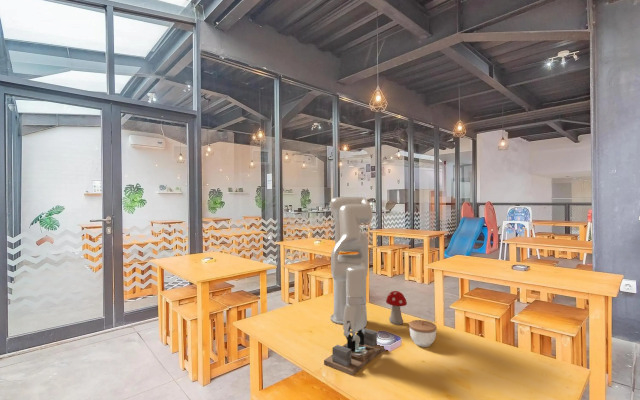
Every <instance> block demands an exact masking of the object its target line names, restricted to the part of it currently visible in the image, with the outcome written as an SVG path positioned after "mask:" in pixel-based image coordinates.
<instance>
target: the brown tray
mask: <svg viewBox="0 0 640 400" xmlns="http://www.w3.org/2000/svg"><path fill="white" fill-rule="evenodd" d="M363 335H364V345H360V344H359V347H366V348H365V349H364V350H363V351H361V352H362V353H363V355H361V356H357V355H354V354H351V353H352V352H351V349H349V348H347V342H345V344H343V345H339V344H336V345H334V346H333V347H332V352H331V353H332V354H331V355H329V356H328V357H327V358H325V359H324V360H323V364H324V366H327V367H330V368H332V369H335V370H337V371H340V372H343V373H345V374H348V375H350V376H354V375H355V374H356V373H358V372H359V371H360V370H361V369H362V368H363V367H365V366H366V365H367V364H368V363H370V362H371V361H373V360H374V359H375V358H376V357H377V356H379V354H381V353H382V352H384V350H385V349H384V346H380V345H377V343H378V338H377V337H378V331H376V330H371V329H368V328H365V334H363ZM355 354H356V353H355Z"/></svg>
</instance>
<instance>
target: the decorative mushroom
mask: <svg viewBox="0 0 640 400" xmlns="http://www.w3.org/2000/svg"><path fill="white" fill-rule="evenodd" d="M385 301H386V304H388V305H390V306H391V311H390V316H389V318H388V320H389V323H391V324H392V325H398V326H399V325H400V326H401V325H403V323H404V320H403V317H402V315H403V314H402V311H401V307H405V306H407V299H406V298H405V296H404V294H403V293H402V292H400V291H399V290H398V291H397V290H393V291H392V290H391V292H389V293H388V295H387V297H386V298H385Z"/></svg>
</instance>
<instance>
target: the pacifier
mask: <svg viewBox="0 0 640 400" xmlns="http://www.w3.org/2000/svg"><path fill="white" fill-rule="evenodd" d="M354 340H355V351H354V352H353V351H351V352H352V353H351V354H354V355H357V356H361V355H363V353H362V352H361V351H363V350H364V349H365V348H366V347H359V342H360V337H359V336H358V335H356V334H355V339H354ZM355 353H356V354H355Z"/></svg>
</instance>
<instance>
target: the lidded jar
mask: <svg viewBox="0 0 640 400" xmlns="http://www.w3.org/2000/svg"><path fill="white" fill-rule="evenodd" d="M408 327H409V335H410V339H411V340H412V341H413V342H414V344H415V345H416V346H417V347H422V348H428V347H430V346H431V345H432V344H433V343H434V342H435V340H436V338H437V327H438V326H437V325H436V324H435V323H434V322H432V321H429V320H423V319H416V320H411V321H409V324H408Z"/></svg>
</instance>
